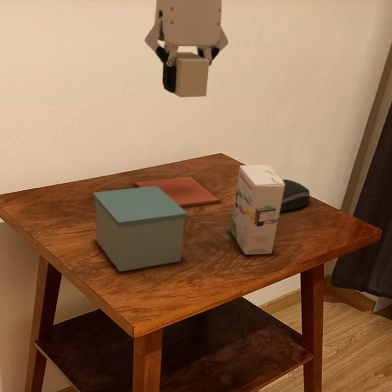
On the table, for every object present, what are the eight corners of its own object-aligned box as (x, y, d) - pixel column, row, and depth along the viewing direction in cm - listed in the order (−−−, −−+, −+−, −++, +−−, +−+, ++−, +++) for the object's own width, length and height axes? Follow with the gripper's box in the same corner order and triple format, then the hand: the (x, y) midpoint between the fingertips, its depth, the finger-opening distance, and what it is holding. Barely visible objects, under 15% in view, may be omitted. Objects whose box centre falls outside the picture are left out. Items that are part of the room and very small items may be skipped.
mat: (161, 210, 97) (161, 206, 96) (135, 185, 105) (135, 182, 104) (218, 202, 102) (219, 199, 101) (190, 179, 110) (190, 176, 109)
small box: (179, 97, 89) (182, 60, 85) (163, 87, 93) (164, 51, 90) (206, 96, 91) (209, 60, 88) (188, 86, 95) (191, 51, 92)
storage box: (118, 273, 78) (118, 222, 73) (94, 240, 85) (92, 192, 80) (183, 261, 83) (187, 213, 78) (155, 232, 90) (157, 185, 85)
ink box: (229, 231, 92) (238, 163, 85) (256, 230, 94) (267, 163, 86) (244, 255, 86) (255, 183, 79) (272, 254, 87) (287, 183, 80)
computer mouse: (246, 203, 103) (249, 182, 100) (290, 191, 109) (294, 172, 107) (272, 217, 99) (276, 196, 96) (316, 204, 105) (321, 184, 103)
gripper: (229, -39, 87) (216, 83, 98) (130, -47, 80) (129, 86, 91) (253, -34, 82) (238, 94, 93) (151, -42, 75) (147, 98, 86)
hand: (184, 89), depth 92 cm, fingers closed on small box, 5 cm apart
